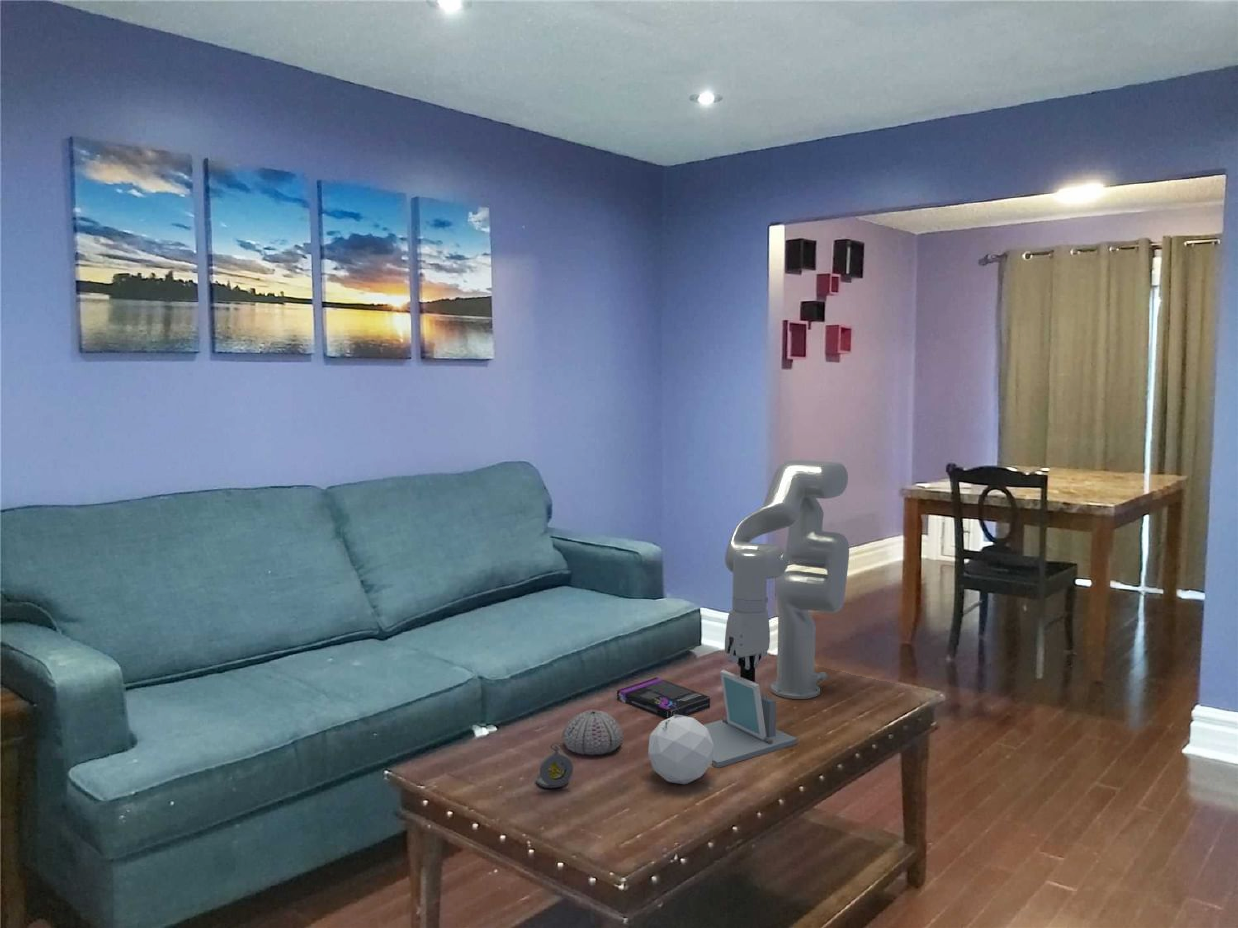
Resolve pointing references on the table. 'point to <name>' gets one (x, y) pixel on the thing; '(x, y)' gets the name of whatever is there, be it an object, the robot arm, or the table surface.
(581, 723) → the sea urchin shell
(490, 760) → the table surface
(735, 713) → the tile
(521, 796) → the table surface
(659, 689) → the box
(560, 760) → the pocket watch
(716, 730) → the board
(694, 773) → the geodesic sphere
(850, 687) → the table surface
